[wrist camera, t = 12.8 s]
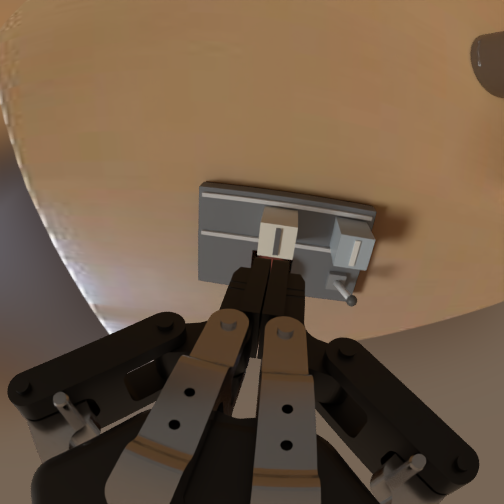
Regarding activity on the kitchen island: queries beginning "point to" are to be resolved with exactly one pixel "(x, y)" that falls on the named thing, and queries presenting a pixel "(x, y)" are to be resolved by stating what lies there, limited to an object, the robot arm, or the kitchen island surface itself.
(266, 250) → the cream fader knob
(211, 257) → the panel
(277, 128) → the kitchen island surface
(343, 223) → the slate-blue fader knob
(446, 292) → the kitchen island surface
